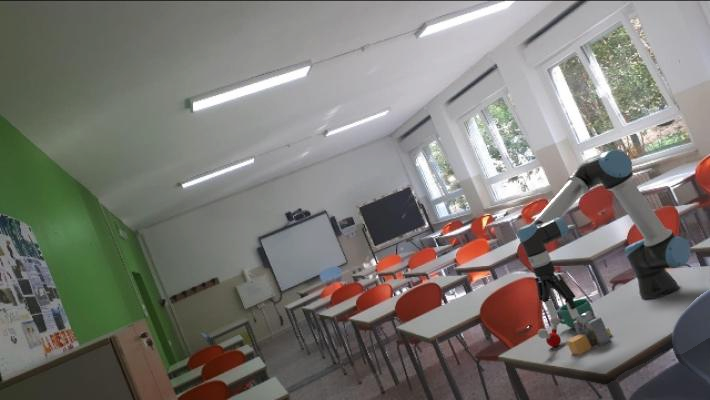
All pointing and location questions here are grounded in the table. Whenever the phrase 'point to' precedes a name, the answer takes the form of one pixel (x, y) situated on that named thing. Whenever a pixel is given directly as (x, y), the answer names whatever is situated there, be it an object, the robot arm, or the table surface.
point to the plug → (581, 343)
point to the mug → (581, 307)
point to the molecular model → (551, 338)
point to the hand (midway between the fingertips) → (565, 317)
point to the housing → (592, 328)
